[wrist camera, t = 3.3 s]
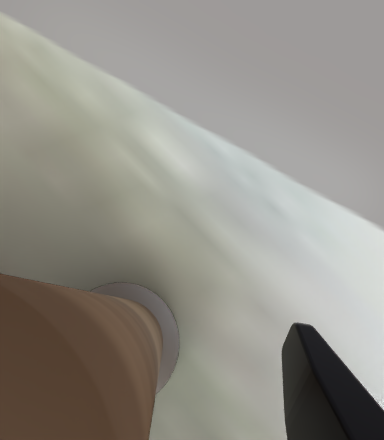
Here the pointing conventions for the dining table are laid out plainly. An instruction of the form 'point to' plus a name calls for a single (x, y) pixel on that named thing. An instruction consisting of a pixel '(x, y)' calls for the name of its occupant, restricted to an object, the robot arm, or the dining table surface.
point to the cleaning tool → (82, 360)
